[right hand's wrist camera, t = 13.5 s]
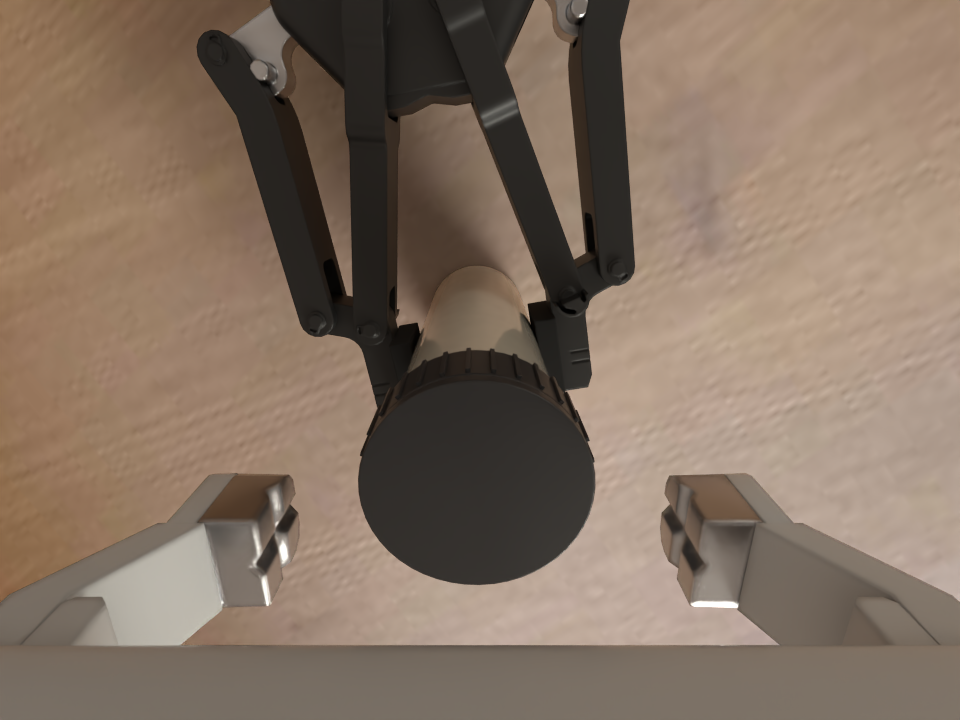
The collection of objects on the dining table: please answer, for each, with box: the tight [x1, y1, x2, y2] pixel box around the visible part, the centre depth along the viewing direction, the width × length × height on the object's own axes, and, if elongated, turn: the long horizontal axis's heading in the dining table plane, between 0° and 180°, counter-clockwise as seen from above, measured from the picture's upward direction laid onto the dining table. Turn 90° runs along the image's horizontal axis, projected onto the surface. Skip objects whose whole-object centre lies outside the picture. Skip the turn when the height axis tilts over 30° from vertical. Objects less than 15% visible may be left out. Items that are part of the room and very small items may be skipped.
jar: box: [407, 266, 549, 376], centre depth 19 cm, size 4×4×15 cm
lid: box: [358, 348, 595, 585], centre depth 12 cm, size 5×5×2 cm
